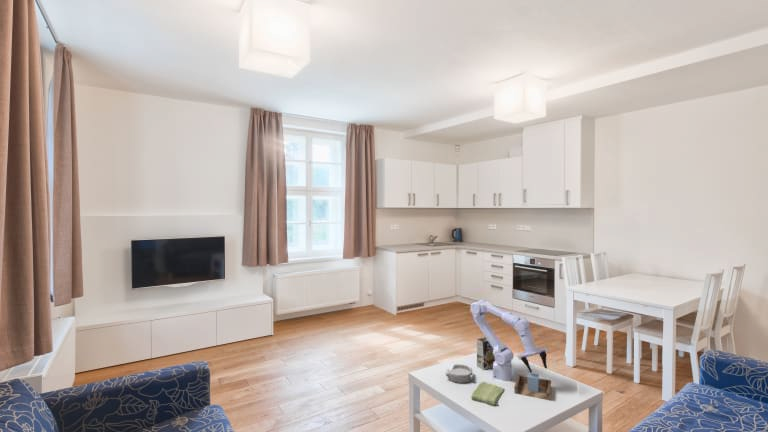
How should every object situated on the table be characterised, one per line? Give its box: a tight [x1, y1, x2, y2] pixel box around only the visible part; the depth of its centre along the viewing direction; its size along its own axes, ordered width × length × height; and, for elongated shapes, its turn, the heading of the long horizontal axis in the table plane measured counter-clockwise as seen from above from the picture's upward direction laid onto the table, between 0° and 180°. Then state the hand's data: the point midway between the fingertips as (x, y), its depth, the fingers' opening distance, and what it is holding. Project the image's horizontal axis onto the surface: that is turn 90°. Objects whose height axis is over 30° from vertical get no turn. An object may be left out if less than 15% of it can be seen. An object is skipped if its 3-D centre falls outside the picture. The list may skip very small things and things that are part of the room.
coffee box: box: [476, 336, 496, 371], centre depth 218 cm, size 9×6×16 cm
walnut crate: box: [514, 374, 552, 401], centre depth 188 cm, size 16×14×4 cm
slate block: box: [526, 372, 540, 392], centre depth 189 cm, size 5×5×7 cm
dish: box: [445, 363, 474, 384], centre depth 204 cm, size 14×14×5 cm
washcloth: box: [471, 381, 505, 406], centre depth 186 cm, size 13×18×3 cm
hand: (538, 370), depth 188 cm, fingers open, 7 cm apart
